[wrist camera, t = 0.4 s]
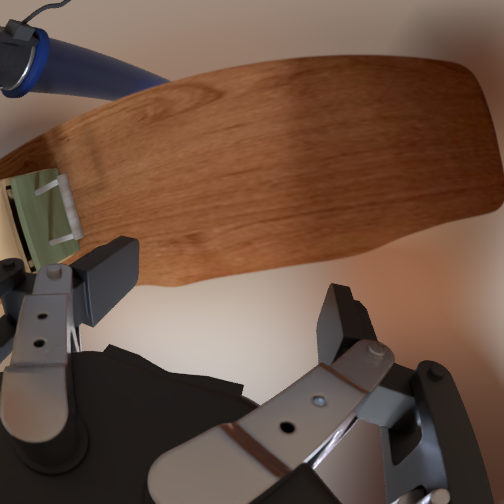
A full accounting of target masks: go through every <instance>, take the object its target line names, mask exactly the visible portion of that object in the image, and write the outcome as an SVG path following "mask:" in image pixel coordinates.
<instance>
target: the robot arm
mask: <svg viewBox="0 0 504 504" xmlns="http://www.w3.org/2000/svg"><path fill="white" fill-rule="evenodd" d="M70 1H71V0H64V1H63V2H61V3H55V4H48V5H45V6H43V7H41V8H39V9H38V10H36V11H35V12H33V13H32V14H31V15H30V16H28V17H27V18H26V19H25V20H23V21H22V22H20V21H16V20H11V19H10V20H9V21H8V23H7V25H6V27H1V26H0V90H14V89H16V88H18V87H19V86H20V85H21V84H22V83H23V82H24V80H25V79H26V77H27V76H28V74H29V72H30V70H31V68H32V65H33V63H34V59H35V55H36V49H37V46H38V44H39V42H40V40H39V39H37V38H36V37H34V36H33V35H32V34H33V33H34V31H35V28H33V27H31V26H29V25H28V24H26V23H27V22H28V21H30V20H31V19H32V18H33V17H34V16H36V15H37V14H39V13H40V12H42V11H43V10H46V9H49V8H59V7H62V6H64V5H65V4H67V3H68V2H70ZM138 275H139V241H138V240H137V239H134V238H130V237H126V236H119V237H118V238H116V239H114V240H113V241H111V242H110V243H108V244H106V245H102V246H99V247H97V248H96V249H94V250H92V251H91V252H89V253H88V254H86V255H85V256H83V257H81V258H80V259H78V260H77V261H75V262H73V263H72V264H70V265H69V266H68V265H66V264H62V263H54V264H49V265H46V266H43V267H42V268H40V269H39V271H38V272H37V274H36V273H28V272H26V271H25V265H24V261H23V260H22V259H19V258H7V259H4V260H1V261H0V298H1V301H2V305H3V308H4V312H5V314H4V315H3V316H2V317H1V318H0V363H1V362H2V361H3V360H4V359H5V358H6V357H7V356H8V355H9V354H10V353H11V352H12V356H11V362H10V365H9V366H7V367H5V369H4V372H0V504H342V503H341V502H340V501H339V500H338V498H337V497H336V496H335V495H334V494H333V493H332V492H331V490H330V489H329V488H328V487H327V485H326V484H325V483H324V482H323V480H322V479H321V478H320V477H319V476H318V474H317V473H316V472H315V471H314V469H315V468H316V467H317V465H318V464H319V463H320V462H321V461H322V460H323V459H324V458H325V457H326V456H327V454H328V453H329V452H330V451H331V450H332V449H333V448H334V446H336V445H337V443H338V442H339V441H340V440H341V439H342V438H343V437H344V436H345V435H346V434H347V432H348V431H349V430H350V429H351V428H352V427H353V426H354V424H355V423H356V422H357V421H358V420H359V419H362V420H365V421H368V422H371V423H374V424H377V425H379V426H380V433H381V442H382V452H383V463H384V476H385V491H386V504H494V501H493V497H492V492H491V488H490V484H489V480H488V477H487V473H486V469H485V466H484V462H483V459H482V456H481V452H480V449H479V446H478V443H477V440H476V437H475V434H474V431H473V429H472V426H471V423H470V420H469V417H468V415H467V412H466V409H465V407H464V404H463V402H462V400H461V397H460V394H459V392H458V390H457V387H456V385H455V383H454V380H453V378H452V376H451V374H450V372H449V371H448V370H447V369H446V368H445V367H444V366H442V365H441V364H439V363H437V362H434V361H429V360H425V361H422V362H420V363H419V365H418V366H417V368H416V369H415V370H412V369H409V368H406V367H403V366H400V365H398V364H396V363H394V362H395V356H394V354H393V352H392V351H391V350H390V349H389V348H388V347H387V346H386V345H384V344H382V343H381V342H378V340H377V337H376V334H375V332H374V329H373V326H372V324H371V320H370V318H369V315H368V312H367V309H366V308H365V307H364V306H363V305H362V304H361V303H360V301H357V300H354V299H353V296H352V293H351V290H350V287H348V286H343V285H338V284H333V283H331V284H330V286H329V288H328V291H327V294H326V297H325V300H324V303H323V306H322V309H321V312H320V315H319V318H318V323H317V330H316V332H317V346H318V359H319V360H318V361H319V364H318V365H317V366H316V367H314V368H313V369H312V370H311V371H309V372H308V373H306V374H305V375H304V376H303V377H301V378H300V379H298V380H297V381H296V382H294V383H293V384H291V385H290V386H289V387H287V388H286V389H285V390H283V391H282V392H280V393H279V394H277V395H276V396H274V397H273V398H271V399H270V400H269V401H267V402H266V403H264V404H262V405H261V406H260V405H259V404H257V403H256V402H254V401H252V400H250V399H249V398H247V397H245V396H242V391H243V387H244V385H242V384H238V383H233V382H229V381H225V380H221V379H217V378H213V377H209V376H200V375H188V374H179V373H171V372H168V371H165V370H164V369H162V368H160V367H158V366H157V365H155V364H153V363H151V362H150V361H148V360H146V359H145V358H143V357H141V356H140V355H138V354H135V353H132V352H129V351H126V350H124V349H121V348H118V347H116V346H113V345H110V344H109V345H108V346H107V348H106V349H105V350H104V351H103V352H97V351H82V346H81V332H80V326H79V325H80V324H81V323H84V324H86V325H88V326H91V327H94V326H95V325H96V324H97V323H98V322H99V321H100V320H101V319H102V318H103V317H104V316H105V315H106V314H107V313H108V312H109V311H110V310H111V309H112V308H113V307H114V306H115V305H116V304H117V303H118V302H119V301H120V300H121V299H122V298H123V297H124V296H125V295H126V294H127V293H128V292H129V291H130V290H131V289H132V288H133V287H134V286H135V285H136V283H137V280H138ZM420 426H422V433H421V429H420Z"/></svg>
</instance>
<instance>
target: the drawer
mask: <svg viewBox="0 0 504 504" xmlns="http://www.w3.org/2000/svg"><path fill="white" fill-rule="evenodd" d="M10 183H11V188H12V189H8V190H6V191H7V196H8V200H9V204H10V208H11V211H12V215H13V219H14V222H15V226H16V229H17V232H18V236H19V239H20V242H21V245H22V248H23V251H24V254H25V257H26V260H27V262H28V265H29V268H32V267H33V266H35V268H36V270H37V272H38V271H39V269H40V268H42V267H43V266H46V265H49V264H54V263H58V262H60V261H61V260H63V259H65V258H66V257H68V256H70V255H72V254H73V253H75V252H77V251H78V250H80V247H79V244H78V241H77V240H78V239H81V238H83V237H84V233H83V230H82V227H81V224H80V220H79V217H78V214H77V210H76V207H75V203H74V199H73V196H72V192H71V188H70V184H69V180H68V176H67V173H64V174H61V175H59V174H58V170H57V168H53V169H48V170H44V171H39V172H34V173H30V174H26V175H21V176H17V177H14V178H13V179H12V180H10Z"/></svg>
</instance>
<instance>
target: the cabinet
mask: <svg viewBox="0 0 504 504" xmlns="http://www.w3.org/2000/svg"><path fill="white" fill-rule="evenodd" d="M49 169H51V168H49ZM44 170H48V169H44ZM44 170H39V171H44ZM39 171H35V172H39ZM30 173H34V172H30ZM30 173H26V174H30ZM26 174H22V175H26ZM17 176H21V175H17ZM17 176H13V177H9V178H5V179H2V180H0V261H1V260H4V259H7V258H19V259H22V260H23V261H24V265H25V271H26V272H28V273H36V274H37V270H36V268H35V266H33V267H32V268H29V265H28V262H27V260H26V257H25V254H24V251H23V248H22V245H21V242H20V239H19V236H18V232H17V229H16V226H15V222H14V219H13V215H12V211H11V208H10V204H9V200H8V196H7V191H6V190H8V189H12V188H11V183H10V180H12V179H13V178H14V177H17ZM73 255H75V253H73V254H72V255H70V256H68V257H66V258H65V259H63V260H61V261H60V262H58V263H61V262H63V261H65V260H66V259H68V258H70V257H71V256H73Z"/></svg>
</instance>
